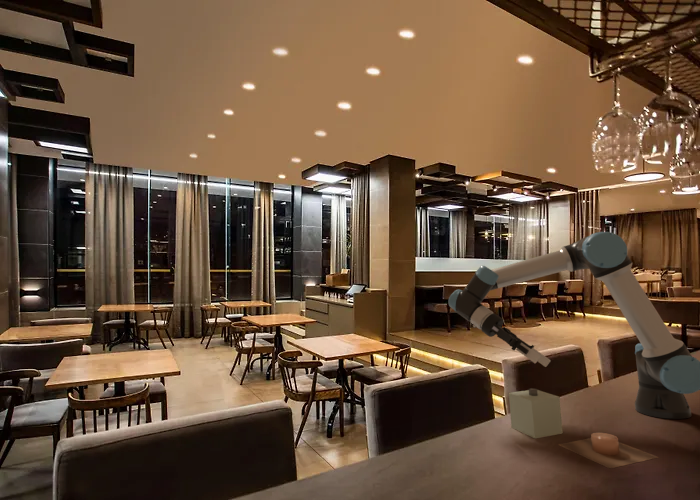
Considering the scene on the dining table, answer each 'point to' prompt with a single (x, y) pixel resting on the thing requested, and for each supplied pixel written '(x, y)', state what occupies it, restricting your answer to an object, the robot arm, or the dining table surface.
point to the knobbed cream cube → (535, 413)
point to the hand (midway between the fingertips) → (543, 362)
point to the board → (610, 461)
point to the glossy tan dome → (605, 443)
